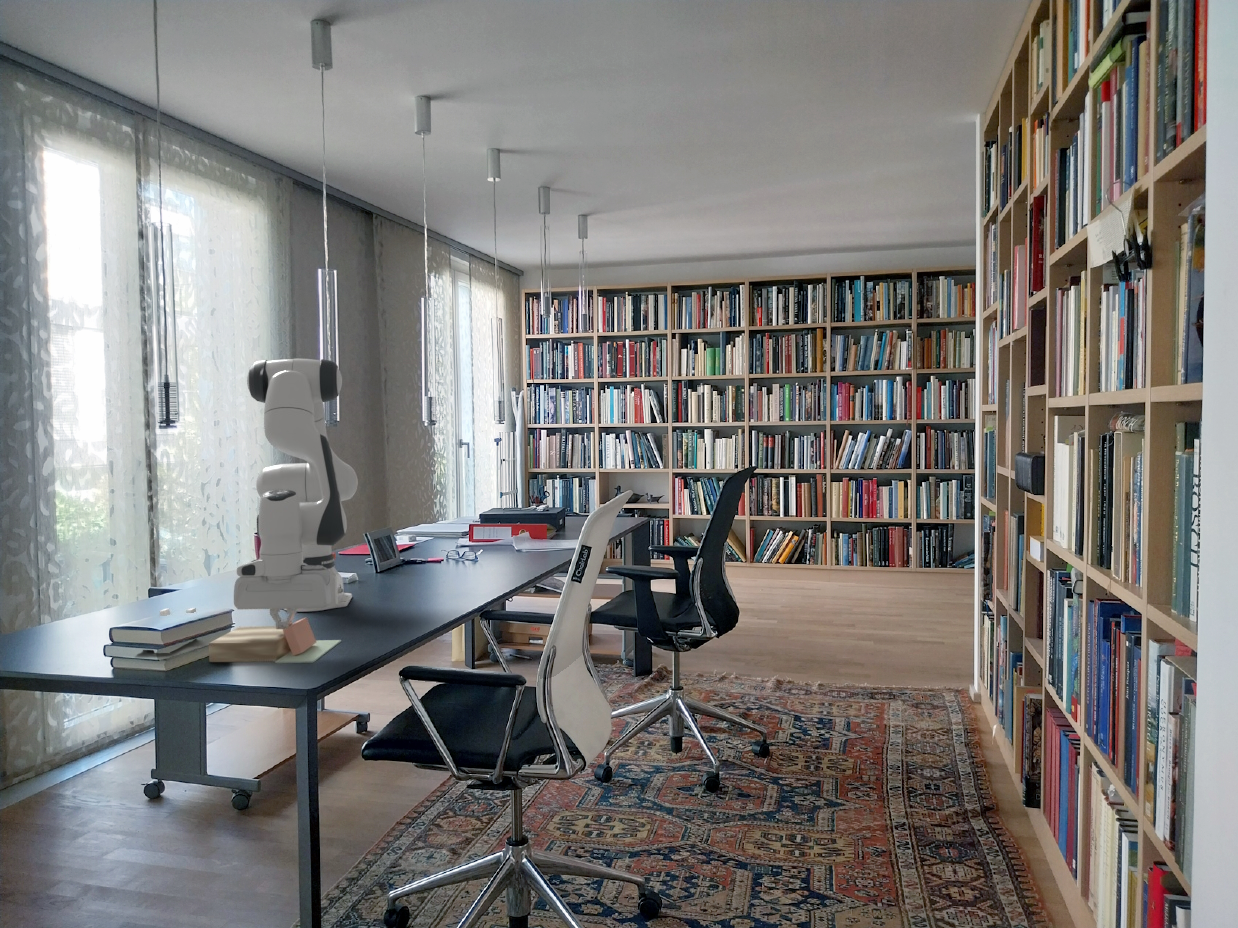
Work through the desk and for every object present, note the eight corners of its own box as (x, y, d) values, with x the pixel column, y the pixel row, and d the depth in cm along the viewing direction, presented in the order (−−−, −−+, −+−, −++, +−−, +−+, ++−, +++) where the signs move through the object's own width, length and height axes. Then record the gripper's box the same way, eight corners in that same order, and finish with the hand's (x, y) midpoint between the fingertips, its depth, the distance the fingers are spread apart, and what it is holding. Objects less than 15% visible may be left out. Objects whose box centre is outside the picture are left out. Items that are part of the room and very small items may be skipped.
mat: (306, 641, 205) (306, 640, 205) (341, 641, 205) (341, 639, 205) (275, 662, 187) (275, 661, 187) (313, 662, 187) (313, 661, 187)
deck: (240, 644, 204) (239, 626, 204) (301, 643, 204) (301, 625, 204) (209, 662, 189) (208, 643, 189) (276, 661, 189) (275, 642, 189)
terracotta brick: (298, 620, 200) (306, 617, 200) (308, 645, 201) (316, 642, 201) (282, 629, 192) (291, 626, 191) (293, 655, 192) (301, 652, 192)
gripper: (334, 562, 199) (336, 624, 199) (241, 563, 199) (244, 626, 199) (324, 567, 192) (326, 631, 193) (229, 568, 192) (231, 632, 193)
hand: (284, 628), depth 196 cm, fingers closed
